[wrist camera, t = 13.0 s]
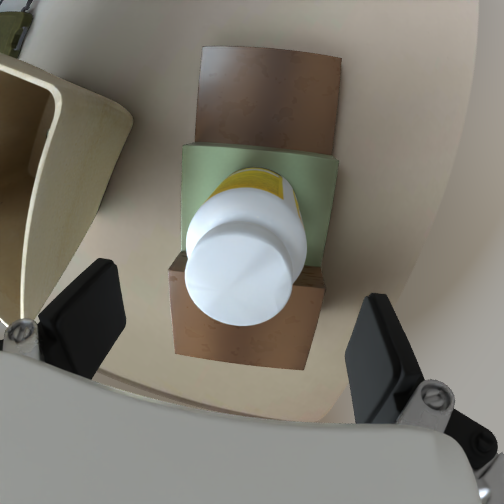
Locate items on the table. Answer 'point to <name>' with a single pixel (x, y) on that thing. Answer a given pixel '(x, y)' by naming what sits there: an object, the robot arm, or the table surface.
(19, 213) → the flower pot
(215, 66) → the tier shelf
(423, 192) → the table surface
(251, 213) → the pill bottle
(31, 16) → the landmine
